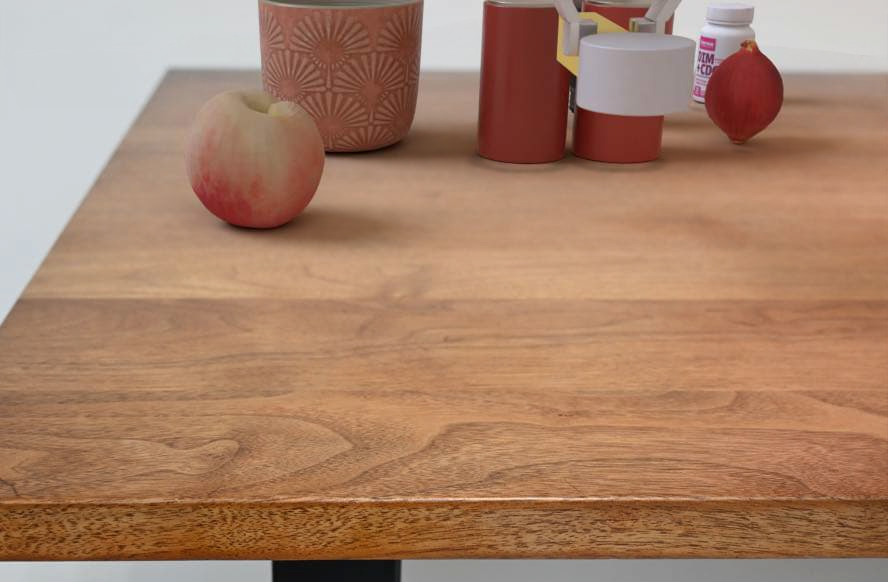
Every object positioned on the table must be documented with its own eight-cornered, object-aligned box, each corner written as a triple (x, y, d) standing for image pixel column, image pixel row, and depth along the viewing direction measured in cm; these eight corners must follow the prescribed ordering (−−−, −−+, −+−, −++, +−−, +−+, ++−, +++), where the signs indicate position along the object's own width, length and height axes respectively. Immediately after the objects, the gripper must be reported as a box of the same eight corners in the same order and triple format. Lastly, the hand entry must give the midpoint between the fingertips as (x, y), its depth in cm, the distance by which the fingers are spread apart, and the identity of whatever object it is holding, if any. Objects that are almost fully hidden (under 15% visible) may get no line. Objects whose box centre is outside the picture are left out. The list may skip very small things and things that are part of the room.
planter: (244, 130, 101) (240, -10, 97) (388, 121, 105) (390, -15, 101) (285, 165, 90) (282, 9, 86) (444, 154, 94) (449, 3, 90)
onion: (708, 132, 102) (719, 31, 98) (781, 139, 99) (796, 35, 96) (692, 146, 97) (704, 40, 94) (770, 154, 94) (784, 46, 91)
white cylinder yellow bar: (704, 115, 61) (711, 48, 59) (589, 117, 60) (593, 49, 59) (620, 59, 76) (624, 4, 75) (528, 60, 76) (531, 5, 75)
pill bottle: (684, 102, 113) (694, 5, 110) (703, 94, 117) (713, 0, 114) (736, 108, 111) (748, 9, 107) (754, 99, 114) (766, 4, 111)
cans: (647, 142, 98) (661, -7, 94) (670, 162, 92) (687, 4, 88) (471, 143, 97) (477, -7, 93) (483, 163, 91) (490, 4, 87)
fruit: (257, 250, 72) (254, 110, 69) (164, 223, 77) (157, 92, 74) (348, 220, 77) (349, 90, 74) (255, 198, 82) (253, 74, 79)
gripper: (814, -230, 65) (781, 42, 70) (421, -227, 64) (417, 48, 70) (866, -237, 59) (825, 61, 65) (434, -234, 58) (429, 67, 64)
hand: (611, 54), depth 67 cm, fingers closed on white cylinder yellow bar, 2 cm apart
